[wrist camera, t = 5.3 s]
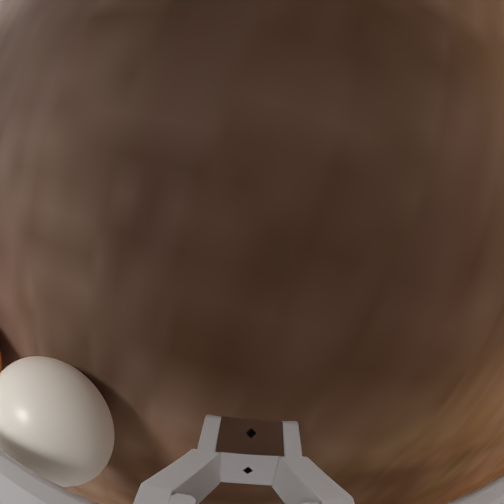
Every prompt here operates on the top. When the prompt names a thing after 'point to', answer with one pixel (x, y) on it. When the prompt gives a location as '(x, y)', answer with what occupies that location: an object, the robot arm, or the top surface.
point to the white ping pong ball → (54, 420)
